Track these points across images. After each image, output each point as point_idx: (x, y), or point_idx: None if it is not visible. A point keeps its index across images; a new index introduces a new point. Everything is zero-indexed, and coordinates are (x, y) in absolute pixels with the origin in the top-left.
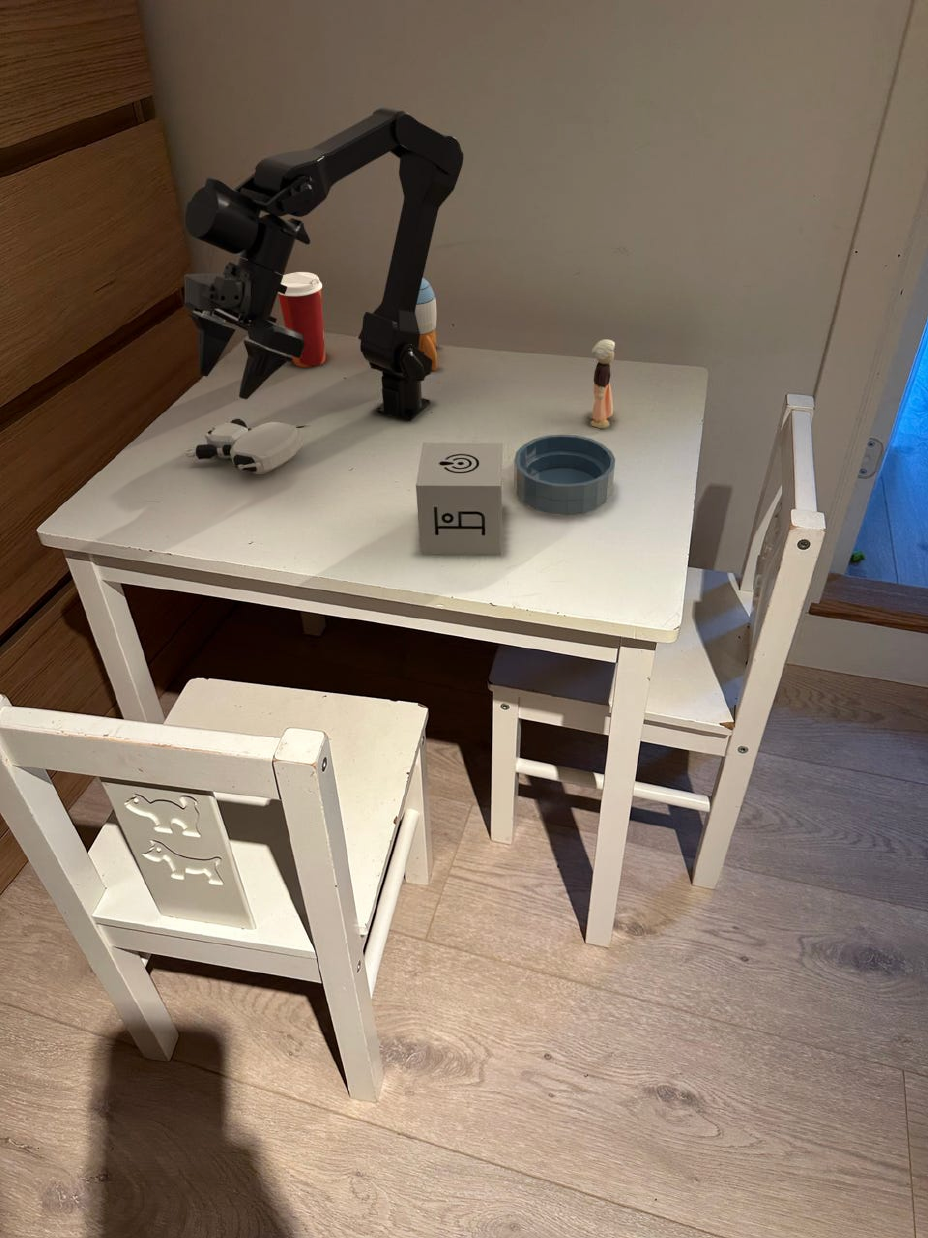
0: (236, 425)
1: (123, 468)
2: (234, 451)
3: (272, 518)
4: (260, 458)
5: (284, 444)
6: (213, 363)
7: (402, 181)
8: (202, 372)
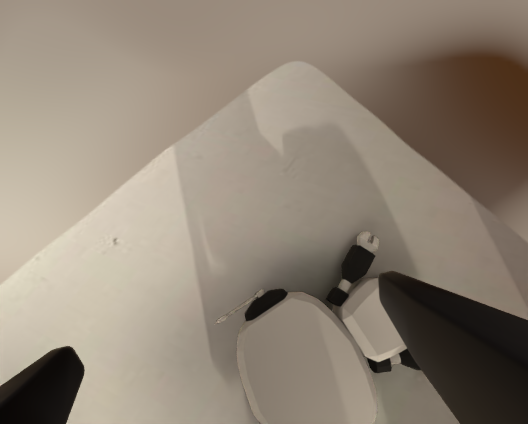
0: (393, 344)
1: (400, 154)
2: (290, 298)
3: (148, 291)
4: (240, 333)
5: (253, 404)
6: (426, 365)
7: None
8: (385, 283)
